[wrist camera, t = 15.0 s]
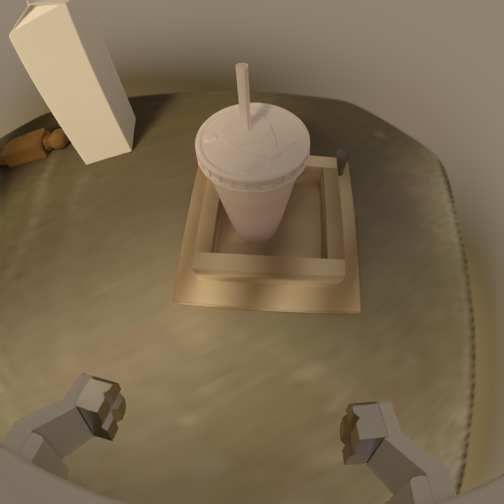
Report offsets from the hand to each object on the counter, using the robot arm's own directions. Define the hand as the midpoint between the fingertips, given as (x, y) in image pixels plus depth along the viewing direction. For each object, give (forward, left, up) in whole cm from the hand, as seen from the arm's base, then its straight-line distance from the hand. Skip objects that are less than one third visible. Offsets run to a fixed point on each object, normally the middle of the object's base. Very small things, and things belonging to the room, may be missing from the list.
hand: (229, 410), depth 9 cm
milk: (-18, +24, -12) cm, 33 cm away
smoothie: (0, +13, -11) cm, 17 cm away
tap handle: (-40, +24, -12) cm, 48 cm away
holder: (+1, +13, -12) cm, 18 cm away
